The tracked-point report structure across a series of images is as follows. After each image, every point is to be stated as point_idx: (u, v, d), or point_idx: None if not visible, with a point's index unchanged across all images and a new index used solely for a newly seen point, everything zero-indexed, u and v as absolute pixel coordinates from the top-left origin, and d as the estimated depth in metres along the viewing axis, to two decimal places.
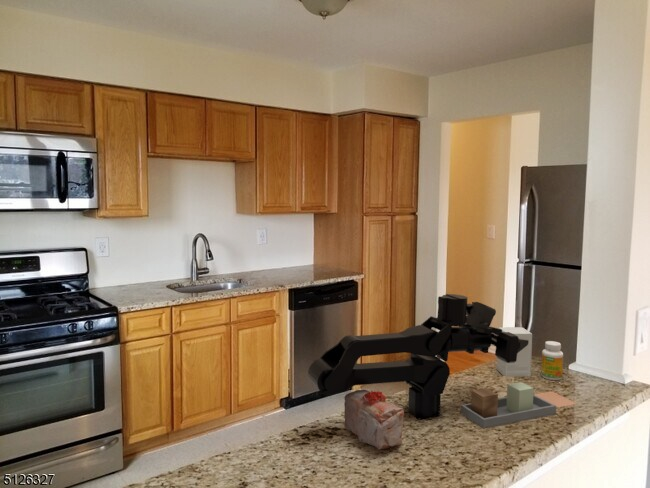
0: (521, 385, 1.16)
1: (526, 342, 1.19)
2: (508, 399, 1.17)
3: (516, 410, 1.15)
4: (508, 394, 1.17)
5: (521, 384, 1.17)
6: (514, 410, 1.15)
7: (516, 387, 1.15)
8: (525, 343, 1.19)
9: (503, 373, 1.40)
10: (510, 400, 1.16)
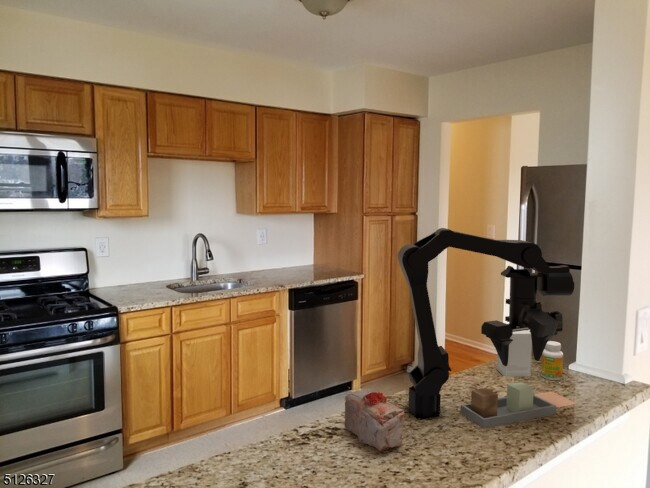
0: (521, 385, 1.16)
1: (504, 362, 1.13)
2: (508, 399, 1.17)
3: (516, 410, 1.15)
4: (508, 394, 1.17)
5: (521, 384, 1.17)
6: (514, 410, 1.15)
7: (516, 387, 1.15)
8: (503, 360, 1.14)
9: (503, 373, 1.40)
10: (510, 400, 1.16)
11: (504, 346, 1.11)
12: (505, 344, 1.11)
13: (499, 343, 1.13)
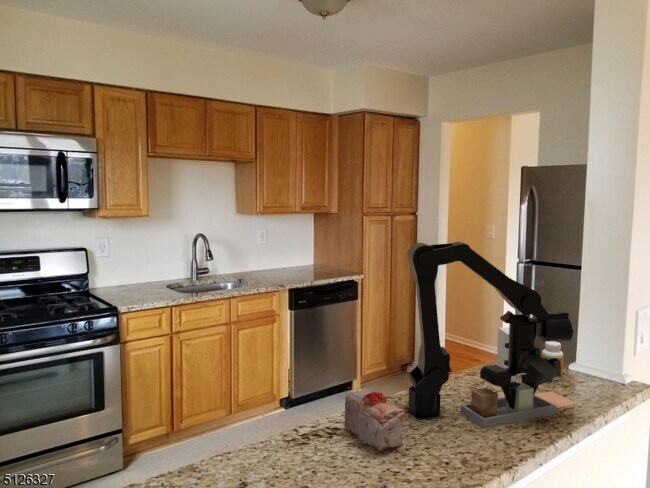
0: (521, 385, 1.16)
1: (511, 405, 1.15)
2: None
3: (516, 410, 1.15)
4: None
5: (521, 384, 1.17)
6: (514, 410, 1.15)
7: None
8: (510, 403, 1.15)
9: None
10: None
11: (511, 390, 1.13)
12: (512, 388, 1.13)
13: (506, 386, 1.15)
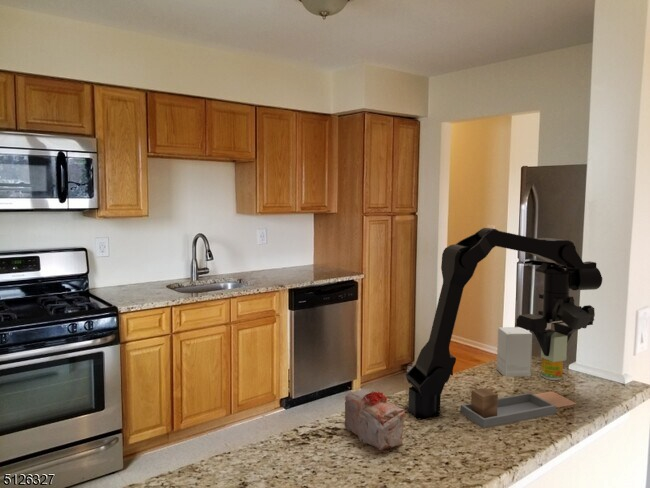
0: (555, 334, 1.22)
1: (545, 352, 1.21)
2: None
3: (551, 357, 1.20)
4: None
5: (555, 333, 1.22)
6: (549, 357, 1.21)
7: None
8: (544, 350, 1.21)
9: (503, 373, 1.40)
10: None
11: (546, 337, 1.19)
12: (548, 335, 1.18)
13: (541, 334, 1.21)
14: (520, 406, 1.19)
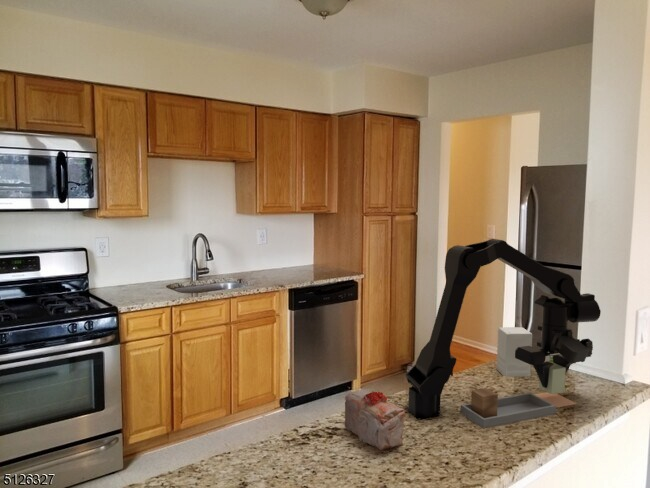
0: (553, 365, 1.23)
1: (544, 384, 1.22)
2: None
3: (549, 389, 1.21)
4: None
5: (554, 365, 1.23)
6: (547, 389, 1.21)
7: None
8: (543, 382, 1.22)
9: (503, 373, 1.40)
10: None
11: (545, 369, 1.19)
12: (546, 367, 1.19)
13: (539, 366, 1.22)
14: (520, 406, 1.19)
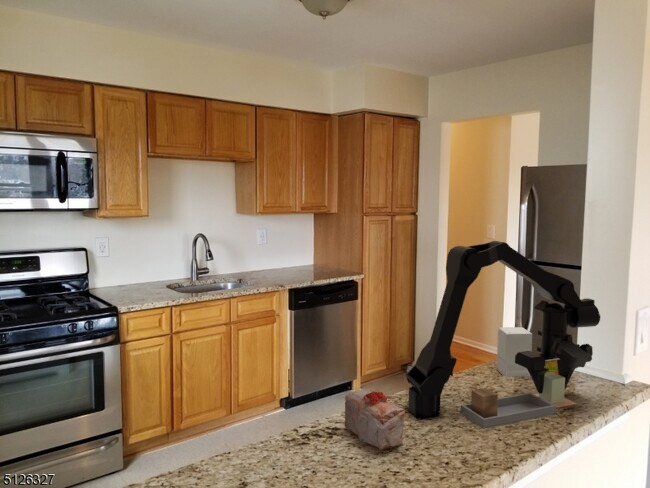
0: (553, 375, 1.23)
1: (539, 390, 1.21)
2: None
3: (549, 398, 1.21)
4: None
5: (553, 374, 1.23)
6: (546, 398, 1.22)
7: (548, 377, 1.22)
8: (538, 388, 1.21)
9: (503, 373, 1.40)
10: None
11: (540, 375, 1.19)
12: (541, 373, 1.19)
13: (535, 372, 1.21)
14: (520, 406, 1.19)
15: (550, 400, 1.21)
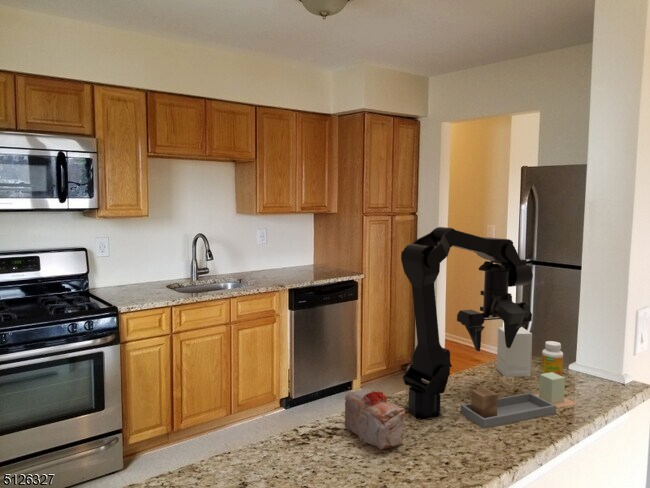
0: (553, 375, 1.23)
1: (477, 348, 1.25)
2: (540, 388, 1.23)
3: (549, 398, 1.21)
4: (540, 383, 1.23)
5: (553, 374, 1.23)
6: (546, 398, 1.22)
7: (548, 377, 1.22)
8: (476, 346, 1.25)
9: (503, 373, 1.40)
10: (542, 389, 1.23)
11: (477, 332, 1.23)
12: (477, 331, 1.22)
13: (473, 330, 1.25)
14: (520, 406, 1.19)
15: (550, 400, 1.21)
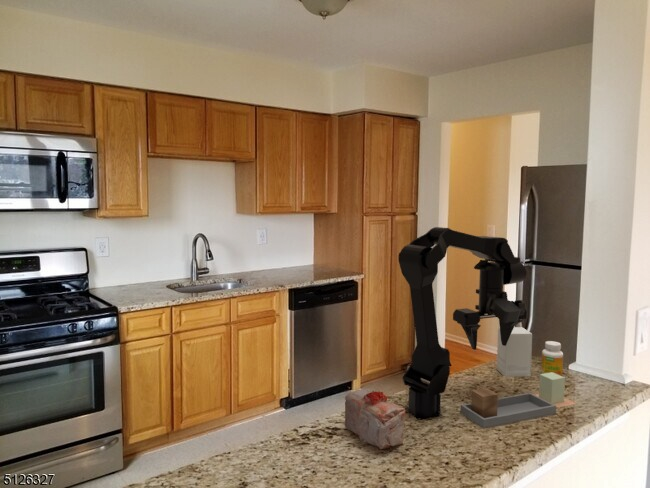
0: (553, 375, 1.23)
1: (473, 346, 1.25)
2: (540, 388, 1.23)
3: (549, 398, 1.21)
4: (540, 383, 1.23)
5: (553, 374, 1.23)
6: (546, 398, 1.22)
7: (548, 377, 1.22)
8: (472, 344, 1.25)
9: (503, 373, 1.40)
10: (542, 389, 1.23)
11: (473, 331, 1.23)
12: (473, 329, 1.23)
13: (469, 329, 1.25)
14: (520, 406, 1.19)
15: (550, 400, 1.21)
